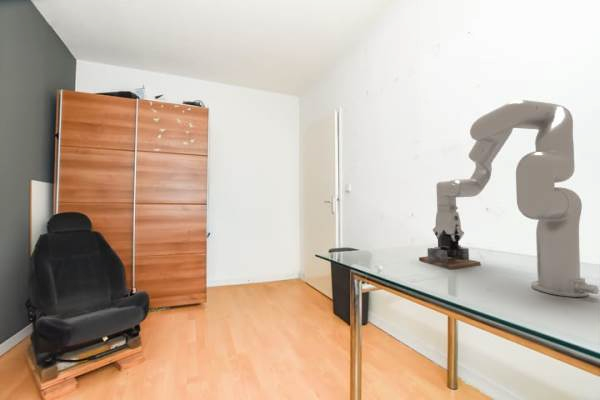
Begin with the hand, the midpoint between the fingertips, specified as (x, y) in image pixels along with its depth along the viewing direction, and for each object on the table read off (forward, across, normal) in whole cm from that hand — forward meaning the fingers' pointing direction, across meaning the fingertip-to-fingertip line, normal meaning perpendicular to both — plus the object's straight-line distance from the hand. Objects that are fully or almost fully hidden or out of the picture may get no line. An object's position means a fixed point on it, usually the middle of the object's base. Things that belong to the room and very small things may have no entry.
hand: (448, 248), depth 120 cm
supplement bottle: (+4, 0, 0) cm, 4 cm away
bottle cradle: (+7, 0, 0) cm, 7 cm away
